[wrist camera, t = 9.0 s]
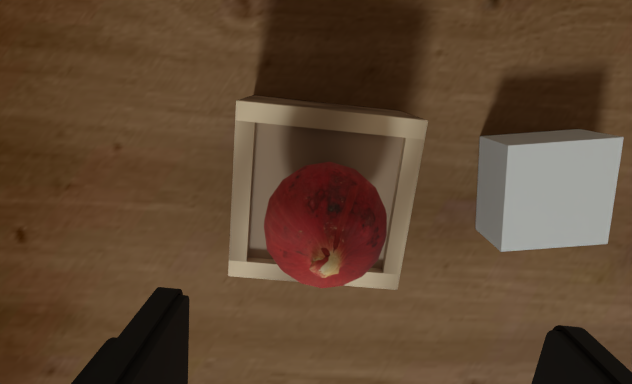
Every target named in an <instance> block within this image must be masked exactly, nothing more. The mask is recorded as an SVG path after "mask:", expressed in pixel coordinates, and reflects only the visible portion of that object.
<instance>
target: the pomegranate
mask: <svg viewBox="0 0 632 384" xmlns="http://www.w3.org/2000/svg"><path fill="white" fill-rule="evenodd" d="M264 232H265V239H266V247H267V251H268V252H269V253H270V255H271V256H272V258H273V259H274V261H275V262H276V263H277V265H278V266H279V268H280V269H281V270H282V271H283V272H284V273H286V274H287V275H289V276H291V277H292V278H294V279H295V280H297V281H298V282H300V283H302V284H307V285H311V286H315V287H319V288H327V287H335V286H342V285H345V284H347V283H349V282H351V281H354V280H356V279H358V278H360V277H362V276H363V275H364V274H365V273H366V272H367V271H368V270H369V269H370V268H371V267H372V266H373V265H374V264H375V263H376V262H377V260H378V259H379V256H380V253H381V251H382V248H383V245H384V243H385V240H386V236H387V214H386V209H385V207H384V205H383V202H382V200H381V198H380V196H379V194H378V191H377V189H376V187H374V186H373V185H372V184H371V183H370V182H369V181H368V180H367V179H366V178H365V177H363V176H362V175H361V174H360V173H359V172H358V171H357V170H355V169H354V168H350V167H347V166H343V165H340V164H337V163H333V162H324V163H318V164H311V165H305V166H303V167H302V168H300V169H299V170H297V171H296V172H294V173H293V174H291V175H289V176H288V177H286V178H285V179H283V180H282V182H281V183H280V184H279V186H278V187H277V189H276V190H275V191H274V193H273V194H272V196H271V197H270V198H269V202H268V206H267V211H266V215H265V219H264Z"/></svg>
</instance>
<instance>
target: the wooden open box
mask: <svg viewBox="0 0 632 384" xmlns="http://www.w3.org/2000/svg"><path fill="white" fill-rule="evenodd" d="M427 124H428V120H425V119H422V118H419V117H416V116H413V115H410V114H407V113H405V112H402V111H397V110H388V109H378V108H369V107H360V106H350V105H341V104H331V103H322V102H312V101H303V100H293V99H284V98H274V97H265V96H255V95H253V96H249V97H246V98H243V99H240V100H237V101H236V118H235V139H234V161H233V183H232V204H231V226H230V247H229V269H228V276H235V277H247V278H259V279H271V280H283V281H295V282H298V281H297V280H295V279H294V278H292V277H291V276H289V275H287V274H286V273H284V272H283V271H282V270H281V269H280V268H279V266H278V265H277V263H276V262H275V261H274V259H273V258H272V256H271V255H270V253H269V252H268V251H267V247H266V239H265V232H264V219H265V215H266V211H267V206H268V202H269V198H270V197H271V196H272V194H273V193H274V191H275V190H276V189H277V187H278V186H279V184H280V183H281V182H282V180H283V179H285V178H286V177H288V176H289V175H291V174H293V173H294V172H296V171H297V170H299V169H300V168H302V167H303V166H305V165H311V164H318V163H324V162H333V163H337V164H340V165H343V166H347V167H350V168H354V169H355V170H357V171H358V172H359V173H360V174H361V175H362V176H363V177H365V178H366V179H367V180H368V181H369V182H370V183H371V184H372V185H373V186H374V187H376V189H377V191H378V194H379V196H380V198H381V200H382V202H383V205H384V207H385V209H386V214H387V236H386V240H385V243H384V245H383V248H382V251H381V253H380V256H379V259H378V260H377V262H376V263H375V264H374V265H373V266H372V267H371V268H370V269H369V270H368V271H367V272H366V273H365V274H364V275H363V276H362V277H360V278H358V279H356V280H354V281H351V282H349V283H347V284H345V285H344V286H356V287H368V288H381V289H393V290H397V289H398V283H399V278H400V272H401V267H402V261H403V256H404V250H405V245H406V239H407V234H408V228H409V223H410V217H411V212H412V206H413V201H414V195H415V190H416V184H417V179H418V173H419V168H420V162H421V157H422V151H423V146H424V140H425V135H426V129H427Z"/></svg>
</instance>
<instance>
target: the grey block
mask: <svg viewBox="0 0 632 384" xmlns="http://www.w3.org/2000/svg"><path fill="white" fill-rule="evenodd" d="M623 138H624V137H620V136H615V135H609V134H604V133H599V132H593V131H588V130H582V129H571V130H558V131H544V132H531V133H517V134H504V135H490V136H480V146H479V167H478V188H477V209H476V230H477V231H478V232H479V233H481V234H482V235H483V236H484V237H485V238H486V239H487V240H488V241H490V242H491V243H492V244H493V245H494V246H495V247H496V248H497V249H498V250H500V251H501V252H503V251H517V250H530V249H544V248H557V247H571V246H584V245H597V244H608V237H609V231H610V224H611V218H612V211H613V204H614V198H615V191H616V185H617V178H618V171H619V165H620V158H621V152H622V145H623Z"/></svg>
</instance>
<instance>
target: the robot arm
mask: <svg viewBox="0 0 632 384" xmlns="http://www.w3.org/2000/svg"><path fill="white" fill-rule="evenodd" d="M188 340H189V297H188V296H185V295H183V293H182V290H181V289H173V288H163V287H158V288H157V289H156V290H155V291H154V292H153V294H152V295H151V296H150V297H149V299H148V300H147V301H146V302H145V304H144V305H143V306H142V308H141V309H140V310H139V311H138V313H137V314H136V315H135V316H134V318H133V319H132V320H131V321H130V323H129V324H128V325H127V326H126V328H125V329H124V330H123V331H122V333H121V334H120V335H119V337H118V338H114V337H113V338H110V339H108V340H107V341H106V342H105V343H104V344H103V346H102V347H101V348H100V349H99V351H98V352H97V353H96V354H95V355H94V357H93V358H92V359H91V360H90V361H89V363H88V364H87V365H86V366H85V367H84V369H83V370H82V371H81V372H80V374H79V375H78V376H77V377H76V378H75V380H74V381H73V382H72V383H71V384H188ZM532 384H632V372H631V371H630V370H628V369H627V368H626V367H625V366H624V365H623V364H622V363H621V362H620V361H619V360H618V359H616V358H615V357H614V356H613V355H612V354H611V353H610V352H609V351H608V350H607V349H606V348H604V347H603V346H602V345H601V344H600V343H599V342H598V341H597V340H596V339H595V338H594V337H593V336H591V335H590V334H589V333H588V332H587V331H586V330H585V329H583V328H580V327H571V326H561V325H558V326H555V327H554V328H553V330H551V331H549V332H548V333H547V335H546V338H545V341H544V344H543V348H542V351H541V354H540V358H539V361H538V364H537V368H536V371H535V374H534V378H533V381H532Z"/></svg>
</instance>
